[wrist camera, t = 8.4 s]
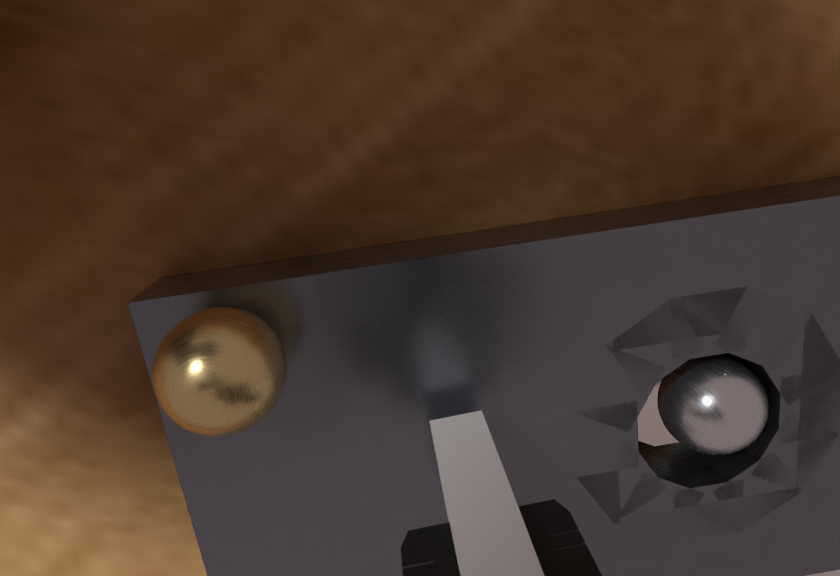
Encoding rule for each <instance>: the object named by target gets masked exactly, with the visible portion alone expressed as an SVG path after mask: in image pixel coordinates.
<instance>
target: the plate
mask: <svg viewBox="0 0 840 576" xmlns="http://www.w3.org/2000/svg"><path fill="white" fill-rule="evenodd" d="M128 305H129V308H130V312H131V315H132V319H133V322H134V325H135V329H136V332H137V336H138V339H139V343H140V346H141V349H142V353H143V356H144V360H145V363H146V367H147V370H148V373H149V377H150V380H151V384H152V387H153V382H152V368H153V362H154V358H155V354H156V352H157V349H158V347H159V345H160V343H161V342H162V340H163V338H164V337H165V336H166V334H167V333H168V332H169V331H170V330H171V329H172V328H173V327H174V326H175V325H176V324H177V323H178V322H180V321H181V320H183V319H184V318H185V317H187V316H189V315H191V314H193V313H196V312H199V311H201V310H204V309H209V308H216V307H229V308H236V309H240V310H244V311H247V312H249V313H252V314H254V315H255V316H257V317H259V318H260V319H262V320H263V321H264V322H266V323H267V324H268V325H269V326H270V327H271V328H272V329H273V331H274V332H275V333H276V334H277V336H278V338H279V339H280V341H281V343H282V345H283V348H284V351H285V354H286V360H287V378H286V384H285V388H284V391H283V393H282V395H281V397H280V399H279V402H278V403H277V405H276V406H275V408H274V409H273V410H272V411H271V412H270V413H269V415H268V416H267V417H266V418H264V419H263V420H262V421H261V422H260V423H258V424H257V425H255V426H253V427H252V428H250V429H248V430H246V431H244V432H241V433H238V434H234V435H229V436H222V437H211V436H204V435H200V434H196V433H193V432H191V431H188V430H186V429H184V428H183V427H181V426H179V425H178V424H176V423H175V422H174V421H173V420H172V419H171V418H170V417H169V416H168V415H167V414H166V413H165V412H164V410H163V409H162V407H161V406H160V404H159V402H158V400H157V397H156V395H155V397H156V401H157V404H158V408H159V411H160V415H161V418H162V421H163V425H164V428H165V432H166V435H167V439H168V442H169V445H170V449H171V452H172V456H173V459H174V463H175V466H176V469H177V473H178V476H179V480H180V483H181V487H182V490H183V493H184V497H185V500H186V504H187V507H188V511H189V514H190V517H191V521H192V524H193V528H194V531H195V535H196V538H197V541H198V545H199V548H200V552H201V555H202V559H203V562H204V565H205V569H206V572H207V576H403V571H402V570H403V568H402V558H401V546H402V544H403V541H404V539H405V537H406V534H407V532H408V530H413V529H418V528H423V527H428V526H433V525H438V524H443V523H447V522H449V521H448V516H447V511H446V506H445V501H444V496H443V490H442V485H441V480H440V475H439V469H438V464H437V459H436V453H435V448H434V443H433V438H432V432H431V427H430V422H429V421H431V420H436V419H441V418H446V417H451V416H456V415H461V414H466V413H471V412H476V411H481V410H482V413H483V415H484V418H485V420H486V423H487V426H488V428H489V431H490V434H491V436H492V439H493V442H494V444H495V447H496V449H497V452H498V455H499V457H500V460H501V463H502V465H503V468H504V471H505V473H506V476H507V478H508V481H509V484H510V486H511V489H512V492H513V494H514V497H515V499H516V502H517V505H518V506H523V505H528V504H533V503H538V502H543V501H547V500H552V499H555V500H556V501H557V502H558V503H560V504H561V505H562V506H563V507H565V508H566V509H567V510H568V511H570V513H571V515H572V517H573V519H574V521H575V523H576V525H577V527H578V530H579V531H580V533H581V535H582V537H583V539H584V541H585V544H586V545H587V547H588V549H589V551H590V553H591V555H592V557H593V559H594V561H595V563H596V565H597V567H598V569H599V571H600V573H601V575H602V576H804V575H810V574H815V573H822V572H827V571H833V570H839V569H840V177H833V178H827V179H820V180H813V181H807V182H800V183H793V184H787V185H780V186H773V187H767V188H760V189H753V190H747V191H740V192H733V193H726V194H720V195H713V196H706V197H700V198H693V199H686V200H680V201H673V202H666V203H660V204H653V205H646V206H640V207H633V208H626V209H620V210H613V211H606V212H600V213H593V214H586V215H579V216H573V217H566V218H559V219H553V220H546V221H539V222H533V223H526V224H519V225H513V226H506V227H499V228H493V229H486V230H479V231H473V232H466V233H459V234H453V235H446V236H439V237H432V238H426V239H419V240H412V241H406V242H399V243H392V244H386V245H379V246H372V247H366V248H359V249H352V250H346V251H339V252H332V253H326V254H319V255H312V256H306V257H299V258H292V259H286V260H279V261H272V262H265V263H259V264H252V265H245V266H239V267H232V268H225V269H219V270H212V271H205V272H199V273H192V274H185V275H179V276H172V277H165V278H160V279H158V280H157V281H156V282H154V283H153V284H152V285H151V286H149V287H148V288H147V289H145V290H144V291H143V292H141V293H140V294H139V295H138V296H136V297H135V298H134V299H132V300H131V301H130V302H129V303H128ZM725 353H728V355H729V356H730V358H733V359H735V360H737V361H739V362H741V363H742V364H744V365H745V366H747V367H748V368H749V369H750V370H751V371H752V372H753V373H754V374H755V375H756V376H757V377H758V379H759V380H760V382H761V384H762V385H763V387H764V390H765V392H766V395H767V399H768V417H767V421H766V425H765V427H764V429H763V431H762V432H761V434H760V435H759V437H758V438H757V439H756V440H755V441H754V442H753V443H751V444H750V445H749V446H747V447H746V448H744V449H742V450H740V451H737V452H734V453H730V454H724V455H710V454H705V453H701V452H697V451H695V450H692V449H690V448H688V447H686V446H685V445H683V444H682V443H680V442H679V443H673V444H667V445H661V446H655V447H654V446H652V445H648V444H646V443H643V442H640V441H638V426H637V417H638V415H639V413H640V411H641V409H642V407H643V406H644V404H645V402H646V400H647V398H648V396H649V395H650V393H651V391H652V389H653V387H654V385H655V384H656V382H658V381H659V380H661V379H662V378H664V377H665V376H666V375H668V374H669V373H671V372H672V371H673V370H675V369H676V368H678V367H679V366H681V365H682V364H683V363H685V362H686V361H688V360H689V359H693V358H699V357H706V356H712V355H718V354H725ZM153 391H154V388H153ZM154 394H155V392H154Z"/></svg>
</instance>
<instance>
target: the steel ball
mask: <svg viewBox="0 0 840 576" xmlns="http://www.w3.org/2000/svg"><path fill="white" fill-rule="evenodd" d="M658 409H659V413H660V416H661V419H662V421H663V423H664V425H665V427H666V428H667V430H668V431H669V432H670V433H671V435H673V437H674V438H675V439H677V440H678V441H679V442H680V443H682V444H683V445H685V446H686V447H688V448H690V449H692V450H695V451H697V452H701V453H705V454H710V455H724V454H730V453H734V452H737V451H740V450H742V449H744V448H746V447H747V446H749V445H750V444H751V443H753V442H754V441H755V440H756V439H757V438H758V437H759V435H760V434H761V432H762V431H763V429H764V427H765V425H766V421H767V417H768V399H767V395H766V392H765V390H764V387H763V385H762V384H761V382H760V380H759V379H758V377H757V376H756V375H755V374H754V373H753V372H752V371H751V370H750V369H749V368H748V367H747V366H745V365H744V364H742V363H741V362H739V361H737V360H735V359H733V358H730V357H727V356H724V355H719V354H718V355H712V356H706V357H699V358H693V359H689V360H688V361H686V362H685V363H683V364H682V365H681V366H679V367H678V368H676V369H675V370H673V371H672V372H671V373H669V374H668V375H666V376H665V377H664V378H663V380H662V382H661V384H660V387H659V391H658Z"/></svg>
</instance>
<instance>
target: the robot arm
mask: <svg viewBox="0 0 840 576" xmlns="http://www.w3.org/2000/svg"><path fill="white" fill-rule="evenodd" d="M429 422H430V427H431V432H432V438H433V443H434V448H435V453H436V459H437V464H438V469H439V475H440V480H441V485H442V490H443V496H444V501H445V506H446V511H447V516H448V521H449V522H447V523H443V524H438V525H433V526H428V527H423V528H418V529H413V530H408V532H407V534H406V537H405V539H404V541H403V544H402V546H401V558H402V568H403V570H402V571H403V576H602V575H601V573H600V571H599V569H598V567H597V565H596V563H595V561H594V559H593V557H592V555H591V553H590V551H589V549H588V547H587V545H586V544H585V541H584V539H583V537H582V535H581V533H580V531H579V530H578V527H577V525H576V523H575V521H574V519H573V517H572V515H571V513H570V511H568V510H567V509H566V508H565V507H563V506H562V505H561V504H560V503H558V502H557V501H556V500H555V499H552V500H547V501H543V502H538V503H533V504H528V505H523V506H518V505H517V502H516V499H515V497H514V494H513V492H512V489H511V486H510V484H509V481H508V478H507V476H506V473H505V471H504V468H503V465H502V463H501V460H500V457H499V455H498V452H497V449H496V447H495V444H494V442H493V439H492V436H491V434H490V431H489V428H488V426H487V423H486V420H485V418H484V415H483V413H482V410H481V411H476V412H471V413H466V414H461V415H456V416H451V417H446V418H441V419H436V420H431V421H429Z"/></svg>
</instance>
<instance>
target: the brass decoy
mask: <svg viewBox="0 0 840 576" xmlns="http://www.w3.org/2000/svg"><path fill="white" fill-rule="evenodd" d="M286 378H287V360H286V354H285V351H284V348H283V345H282V343H281V341H280V339H279V338H278V336H277V334H276V333H275V332H274V331H273V329H272V328H271V327H270V326H269V325H268V324H267V323H266V322H264V321H263V320H262V319H260V318H259V317H257V316H255V315H254V314H252V313H249V312H247V311H244V310H240V309H236V308H229V307H216V308H209V309H204V310H201V311H199V312H196V313H193V314H191V315H189V316H187V317H185V318H184V319H183V320H181V321H180V322H178V323H177V324H176V325H175V326H174V327H173V328H172V329H171V330H170V331H169V332H168V333H167V334H166V336H165V337H164V338H163V340H162V342H161V343H160V345H159V347H158V349H157V352H156V354H155V358H154V362H153V368H152V382H153V388H154V392H155V395H156V397H157V400H158V402H159V404H160V406H161V407H162V409H163V410H164V412H165V413H166V414H167V415H168V416H169V417H170V418H171V419H172V420H173V421H174V422H175V423H176V424H178V425H179V426H181V427H183V428H184V429H186V430H188V431H191V432H193V433H196V434H200V435H204V436H211V437H222V436H229V435H234V434H238V433H241V432H244V431H246V430H248V429H250V428H252V427H253V426H255V425H257V424H258V423H260V422H261V421H262V420H263V419H264V418H266V417H267V416H268V415H269V413H270V412H271V411H272V410H273V409H274V408H275V406H276V405H277V403H278V402H279V399H280V397H281V395H282V393H283V391H284V388H285V384H286Z"/></svg>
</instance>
